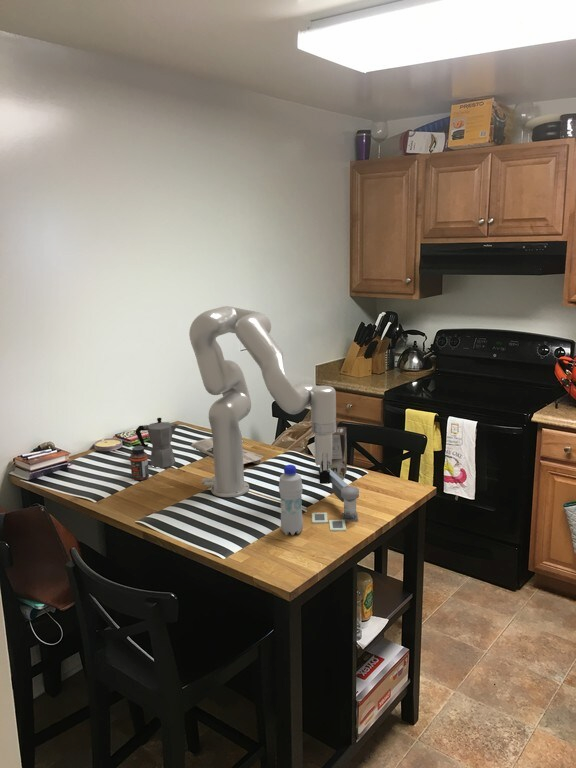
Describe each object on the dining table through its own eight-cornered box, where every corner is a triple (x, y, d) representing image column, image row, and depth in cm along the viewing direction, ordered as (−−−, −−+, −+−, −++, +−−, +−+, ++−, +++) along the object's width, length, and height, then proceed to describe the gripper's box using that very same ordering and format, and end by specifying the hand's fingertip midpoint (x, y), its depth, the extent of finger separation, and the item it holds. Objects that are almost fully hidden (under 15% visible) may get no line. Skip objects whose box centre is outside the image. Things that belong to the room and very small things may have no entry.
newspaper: (191, 447, 249) (190, 439, 249) (218, 441, 257) (217, 432, 256) (239, 472, 222) (239, 463, 221) (267, 464, 229) (267, 455, 229)
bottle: (279, 526, 179) (277, 461, 175) (302, 525, 180) (300, 460, 175) (281, 537, 173) (278, 470, 168) (305, 536, 173) (303, 469, 169)
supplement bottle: (128, 480, 217) (125, 449, 214) (138, 474, 222) (135, 444, 220) (142, 482, 215) (139, 451, 212) (152, 475, 220) (149, 445, 217)
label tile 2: (330, 531, 176) (330, 529, 176) (329, 521, 182) (329, 519, 182) (346, 530, 176) (346, 529, 176) (344, 521, 182) (344, 519, 182)
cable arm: (361, 510, 181) (361, 491, 180) (345, 513, 180) (345, 494, 178) (334, 484, 200) (334, 467, 199) (319, 487, 199) (319, 469, 197)
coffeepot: (180, 457, 237) (176, 412, 233) (181, 466, 228) (178, 419, 224) (138, 462, 234) (134, 416, 230) (138, 471, 225) (134, 423, 221)
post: (343, 521, 182) (342, 500, 180) (342, 514, 186) (342, 494, 184) (358, 521, 182) (358, 500, 180) (356, 514, 186) (356, 494, 184)
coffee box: (344, 479, 212) (344, 434, 208) (325, 478, 213) (325, 434, 209) (347, 470, 220) (347, 426, 217) (329, 469, 222) (328, 425, 218)
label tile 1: (312, 523, 181) (312, 521, 181) (311, 514, 187) (311, 512, 187) (327, 522, 181) (327, 521, 181) (326, 513, 187) (326, 512, 187)
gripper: (310, 419, 196) (311, 473, 201) (312, 434, 182) (313, 492, 186) (334, 419, 196) (335, 473, 200) (337, 434, 182) (338, 492, 186)
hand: (324, 482), depth 193 cm, fingers closed
